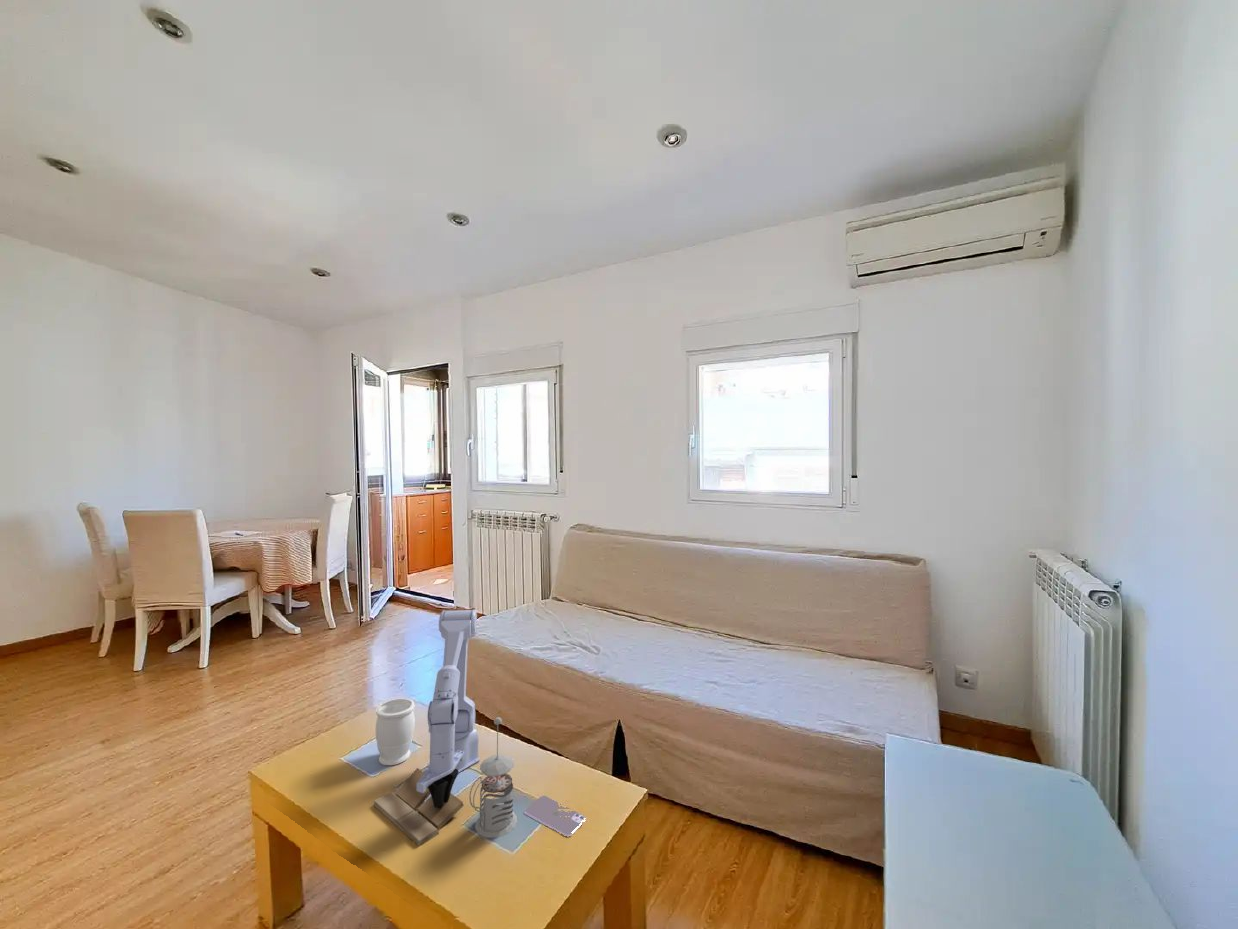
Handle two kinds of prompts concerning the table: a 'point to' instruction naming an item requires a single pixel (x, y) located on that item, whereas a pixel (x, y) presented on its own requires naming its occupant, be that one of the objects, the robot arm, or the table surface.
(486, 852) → the table surface
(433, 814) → the plank
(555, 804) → the mobile phone
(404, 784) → the plank
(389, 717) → the jar
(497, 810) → the french press
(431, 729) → the robot arm
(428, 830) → the laid board
